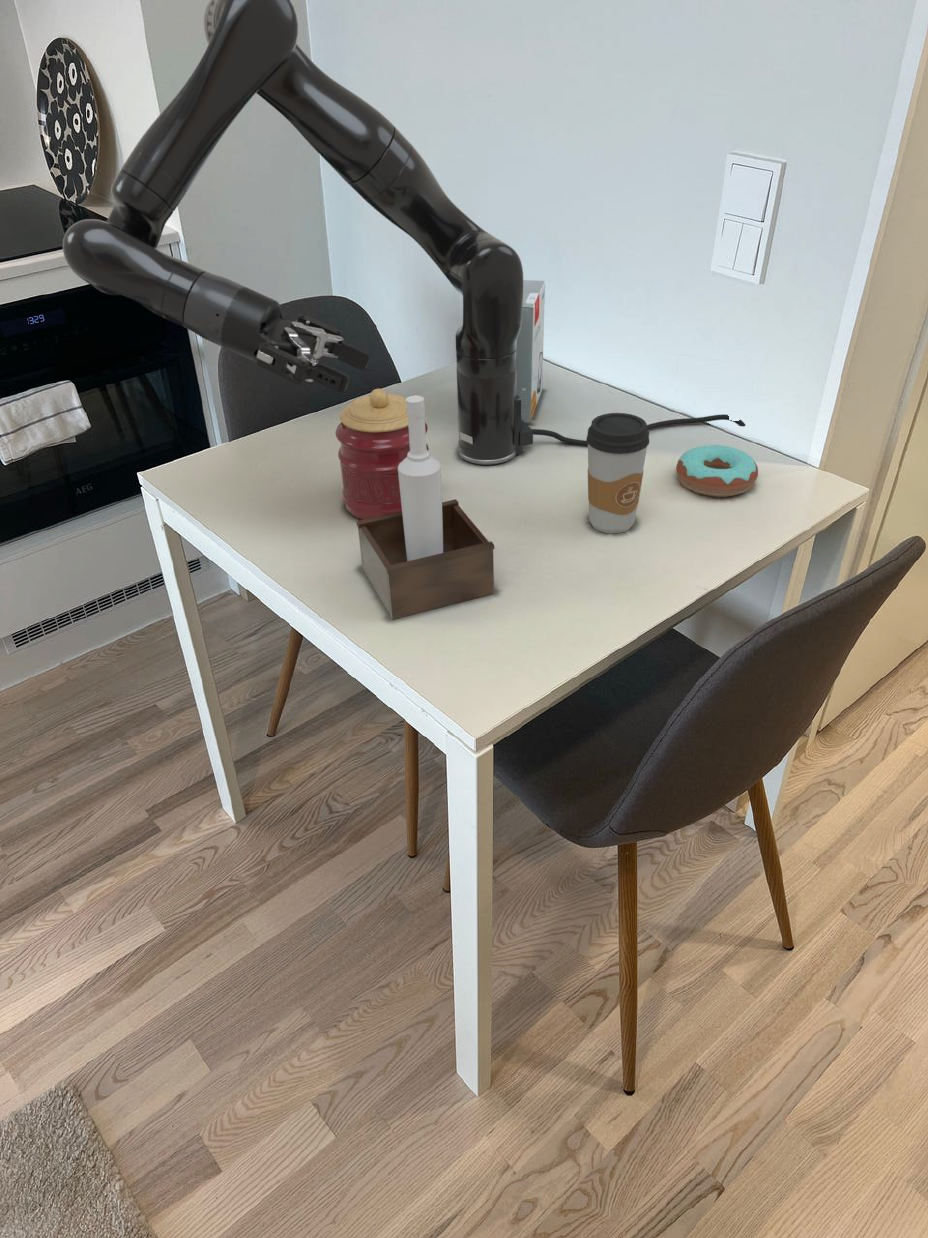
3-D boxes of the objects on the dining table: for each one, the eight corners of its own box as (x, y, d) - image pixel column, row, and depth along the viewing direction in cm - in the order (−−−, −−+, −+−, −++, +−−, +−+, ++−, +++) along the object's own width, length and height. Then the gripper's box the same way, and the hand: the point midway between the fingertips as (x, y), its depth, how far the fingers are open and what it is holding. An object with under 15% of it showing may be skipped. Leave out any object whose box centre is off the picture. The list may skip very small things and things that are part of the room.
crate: (457, 545, 128) (455, 498, 123) (495, 594, 118) (494, 544, 114) (361, 568, 124) (356, 520, 119) (392, 620, 114) (387, 570, 110)
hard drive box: (531, 425, 159) (532, 307, 147) (487, 422, 160) (485, 306, 148) (543, 389, 171) (545, 278, 159) (502, 387, 172) (501, 277, 161)
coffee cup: (603, 543, 127) (610, 442, 118) (570, 517, 133) (574, 419, 124) (653, 528, 130) (664, 428, 121) (618, 503, 136) (626, 406, 127)
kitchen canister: (411, 530, 131) (402, 413, 121) (328, 517, 135) (314, 402, 125) (444, 489, 141) (439, 377, 131) (366, 477, 145) (356, 367, 135)
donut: (682, 502, 136) (685, 477, 133) (668, 465, 145) (671, 441, 143) (764, 500, 135) (769, 476, 133) (745, 463, 145) (749, 439, 143)
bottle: (406, 571, 123) (391, 391, 108) (445, 568, 123) (436, 388, 108) (407, 593, 119) (392, 409, 104) (447, 590, 119) (439, 406, 104)
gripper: (214, 301, 103) (349, 362, 103) (262, 273, 114) (383, 328, 115) (200, 362, 107) (330, 421, 108) (248, 329, 119) (365, 382, 119)
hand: (357, 373), depth 111 cm, fingers open, 8 cm apart
